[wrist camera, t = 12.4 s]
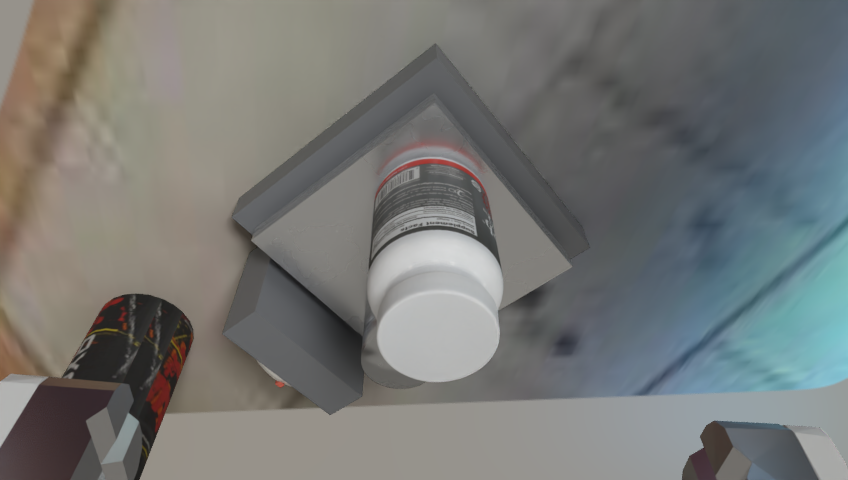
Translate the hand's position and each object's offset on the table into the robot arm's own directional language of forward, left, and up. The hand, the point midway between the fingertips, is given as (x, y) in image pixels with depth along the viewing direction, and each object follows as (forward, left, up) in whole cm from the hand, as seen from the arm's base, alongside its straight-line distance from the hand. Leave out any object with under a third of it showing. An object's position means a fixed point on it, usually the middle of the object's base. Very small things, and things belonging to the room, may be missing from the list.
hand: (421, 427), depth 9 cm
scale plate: (+8, +10, -23) cm, 27 cm away
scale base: (+10, +10, -26) cm, 29 cm away
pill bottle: (+5, +8, -22) cm, 24 cm away
